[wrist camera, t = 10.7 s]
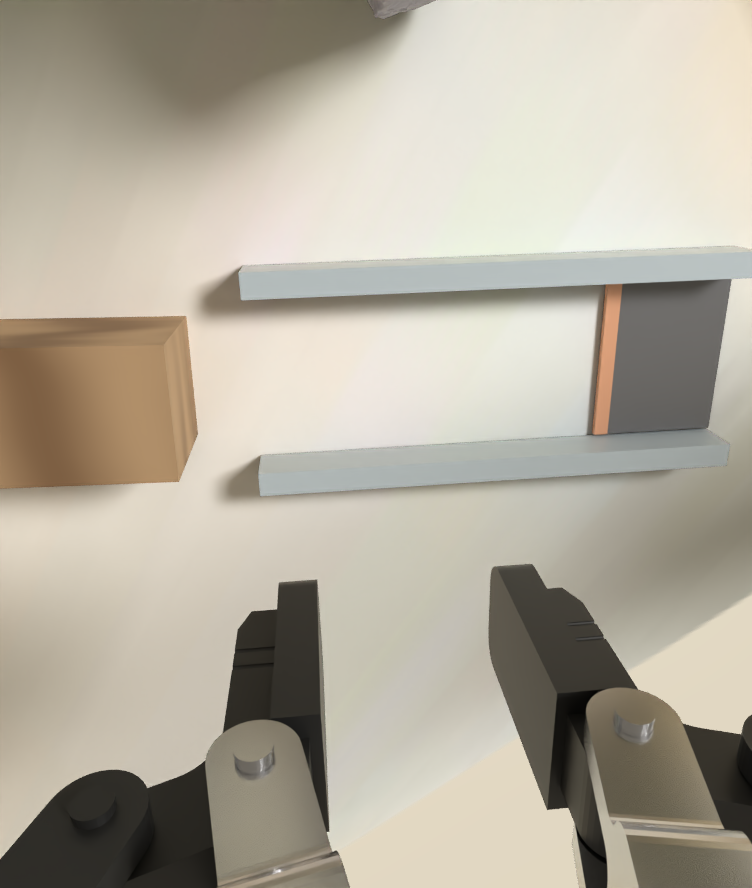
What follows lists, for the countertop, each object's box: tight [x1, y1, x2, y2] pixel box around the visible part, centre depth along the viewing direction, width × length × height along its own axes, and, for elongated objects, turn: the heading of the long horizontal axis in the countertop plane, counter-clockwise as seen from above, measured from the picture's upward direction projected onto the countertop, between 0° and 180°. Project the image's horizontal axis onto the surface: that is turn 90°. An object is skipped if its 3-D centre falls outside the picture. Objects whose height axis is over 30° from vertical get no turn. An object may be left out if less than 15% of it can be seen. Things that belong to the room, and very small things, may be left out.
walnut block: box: [0, 316, 198, 489], centre depth 26 cm, size 8×5×5 cm, turn 90°
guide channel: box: [238, 246, 752, 496], centre depth 29 cm, size 20×9×2 cm, turn 92°
